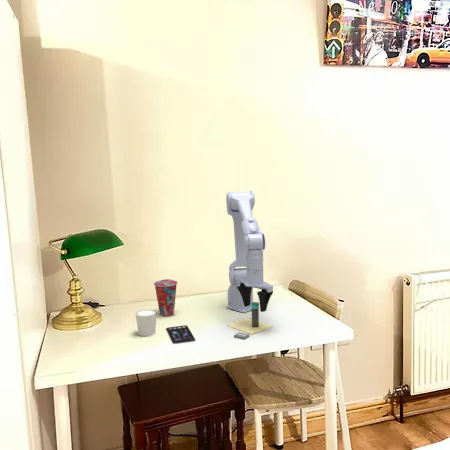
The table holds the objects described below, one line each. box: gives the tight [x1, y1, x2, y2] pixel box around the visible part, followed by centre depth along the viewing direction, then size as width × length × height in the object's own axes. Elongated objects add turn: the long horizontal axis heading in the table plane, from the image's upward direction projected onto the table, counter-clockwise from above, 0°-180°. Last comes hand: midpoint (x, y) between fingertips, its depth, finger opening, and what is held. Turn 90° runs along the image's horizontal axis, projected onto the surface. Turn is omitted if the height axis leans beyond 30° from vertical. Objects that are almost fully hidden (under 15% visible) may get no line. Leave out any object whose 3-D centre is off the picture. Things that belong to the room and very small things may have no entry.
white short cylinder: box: [135, 309, 157, 337], centre depth 167 cm, size 7×7×7 cm
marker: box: [251, 301, 260, 327], centre depth 170 cm, size 3×3×8 cm
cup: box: [153, 278, 178, 318], centre depth 185 cm, size 9×8×12 cm
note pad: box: [226, 317, 273, 336], centre depth 172 cm, size 12×10×1 cm
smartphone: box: [165, 324, 196, 345], centre depth 166 cm, size 8×1×15 cm
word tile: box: [233, 332, 250, 340], centre depth 162 cm, size 4×3×1 cm
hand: (255, 308), depth 170 cm, fingers open, 7 cm apart
